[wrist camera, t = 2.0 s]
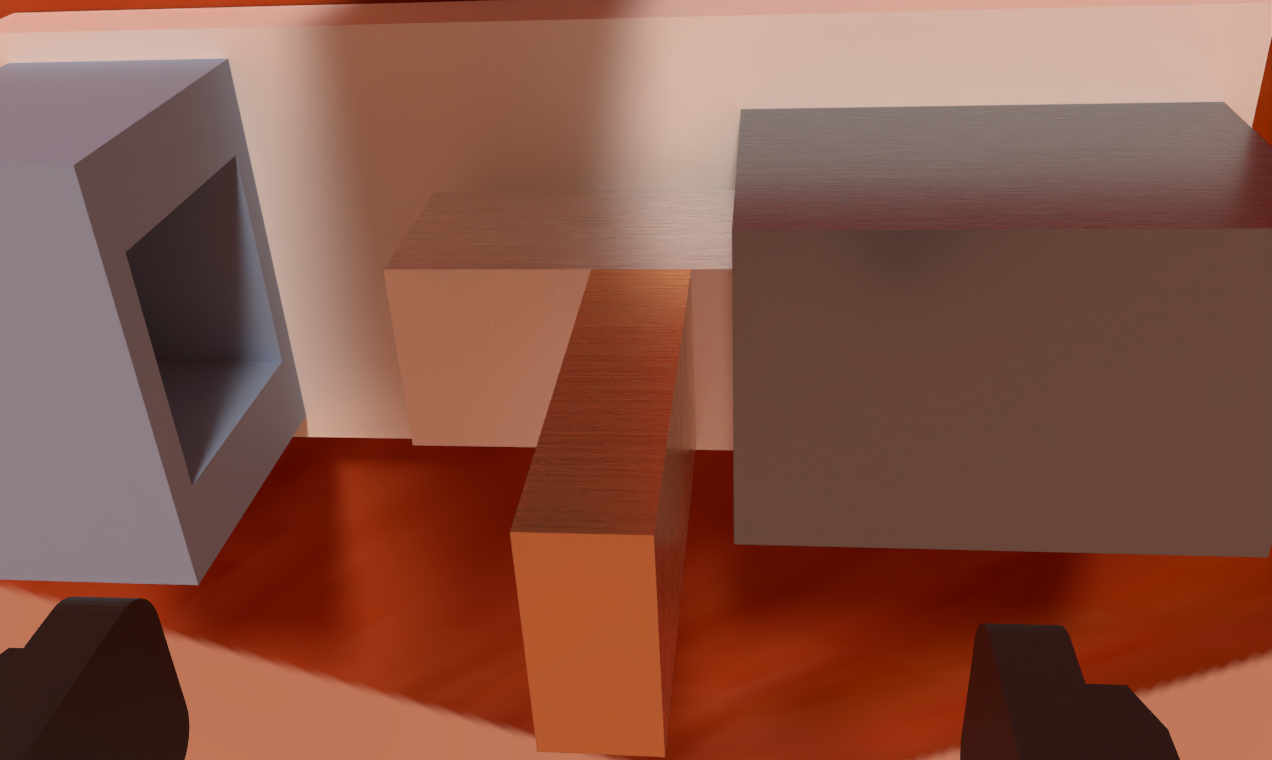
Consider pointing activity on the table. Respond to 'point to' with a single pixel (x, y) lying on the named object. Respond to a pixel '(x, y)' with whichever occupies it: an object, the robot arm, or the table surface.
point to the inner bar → (580, 418)
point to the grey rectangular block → (1003, 329)
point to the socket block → (133, 322)
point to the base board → (594, 111)
